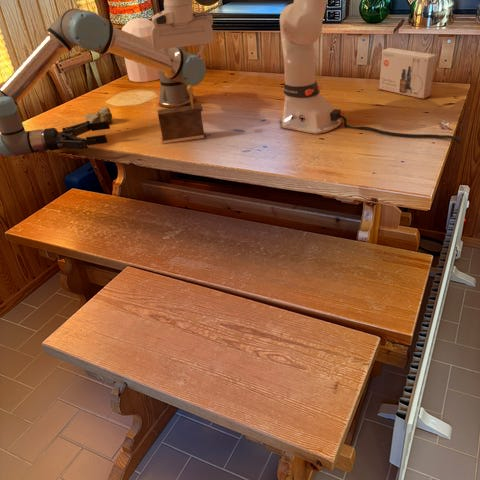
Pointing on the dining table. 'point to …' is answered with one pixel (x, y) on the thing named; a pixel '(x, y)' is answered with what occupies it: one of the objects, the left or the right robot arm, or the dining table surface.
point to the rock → (100, 116)
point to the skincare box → (407, 72)
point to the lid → (181, 109)
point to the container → (134, 69)
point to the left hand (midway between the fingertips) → (107, 131)
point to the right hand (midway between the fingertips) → (185, 60)
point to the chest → (181, 127)
